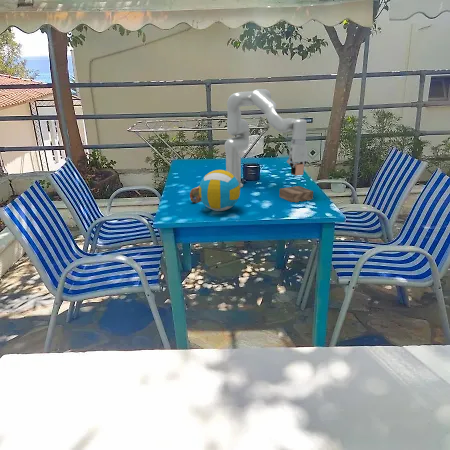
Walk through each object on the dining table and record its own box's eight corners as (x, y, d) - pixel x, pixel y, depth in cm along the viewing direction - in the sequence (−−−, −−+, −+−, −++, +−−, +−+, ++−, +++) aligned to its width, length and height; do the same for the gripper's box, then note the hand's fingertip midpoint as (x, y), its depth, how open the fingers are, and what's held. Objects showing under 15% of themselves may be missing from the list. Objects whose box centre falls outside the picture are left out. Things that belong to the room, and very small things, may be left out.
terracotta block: (296, 175, 237) (296, 165, 235) (291, 173, 241) (291, 163, 239) (303, 174, 239) (303, 164, 237) (298, 172, 243) (298, 162, 241)
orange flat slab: (193, 204, 235) (193, 190, 232) (189, 203, 236) (188, 189, 233) (208, 198, 247) (208, 184, 244) (204, 197, 248) (203, 183, 245)
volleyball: (234, 218, 211) (234, 176, 204) (193, 214, 217) (192, 173, 210) (244, 205, 231) (244, 167, 224) (206, 202, 237) (205, 165, 229)
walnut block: (292, 202, 236) (293, 194, 234) (279, 196, 248) (279, 188, 246) (312, 199, 242) (313, 191, 240) (298, 193, 254) (299, 185, 252)
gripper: (290, 143, 227) (288, 176, 233) (315, 141, 234) (313, 173, 240) (282, 141, 233) (281, 173, 239) (307, 139, 240) (305, 170, 246)
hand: (297, 172), depth 240 cm, fingers closed on terracotta block, 5 cm apart
